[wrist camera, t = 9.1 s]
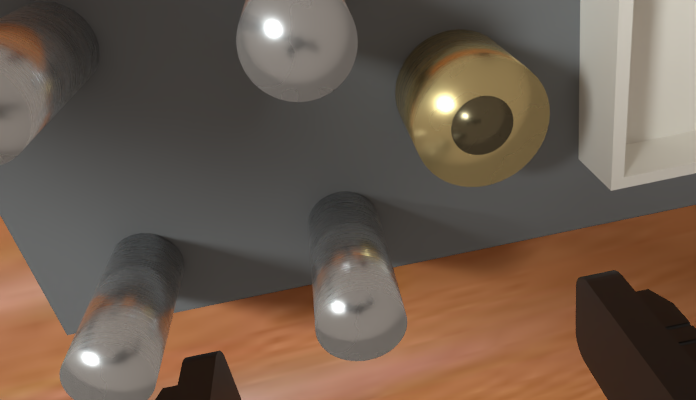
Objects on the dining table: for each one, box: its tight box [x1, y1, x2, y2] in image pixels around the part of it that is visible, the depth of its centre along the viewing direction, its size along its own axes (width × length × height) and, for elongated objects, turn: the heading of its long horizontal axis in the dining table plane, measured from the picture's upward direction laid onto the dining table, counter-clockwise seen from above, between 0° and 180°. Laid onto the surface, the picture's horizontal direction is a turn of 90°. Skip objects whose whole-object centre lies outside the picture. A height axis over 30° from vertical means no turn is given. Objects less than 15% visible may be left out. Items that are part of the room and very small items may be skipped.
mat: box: [0, 0, 696, 335], centre depth 24 cm, size 16×34×1 cm, turn 100°
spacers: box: [0, 0, 407, 400], centre depth 21 cm, size 13×12×7 cm
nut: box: [395, 29, 550, 187], centre depth 22 cm, size 5×5×4 cm
